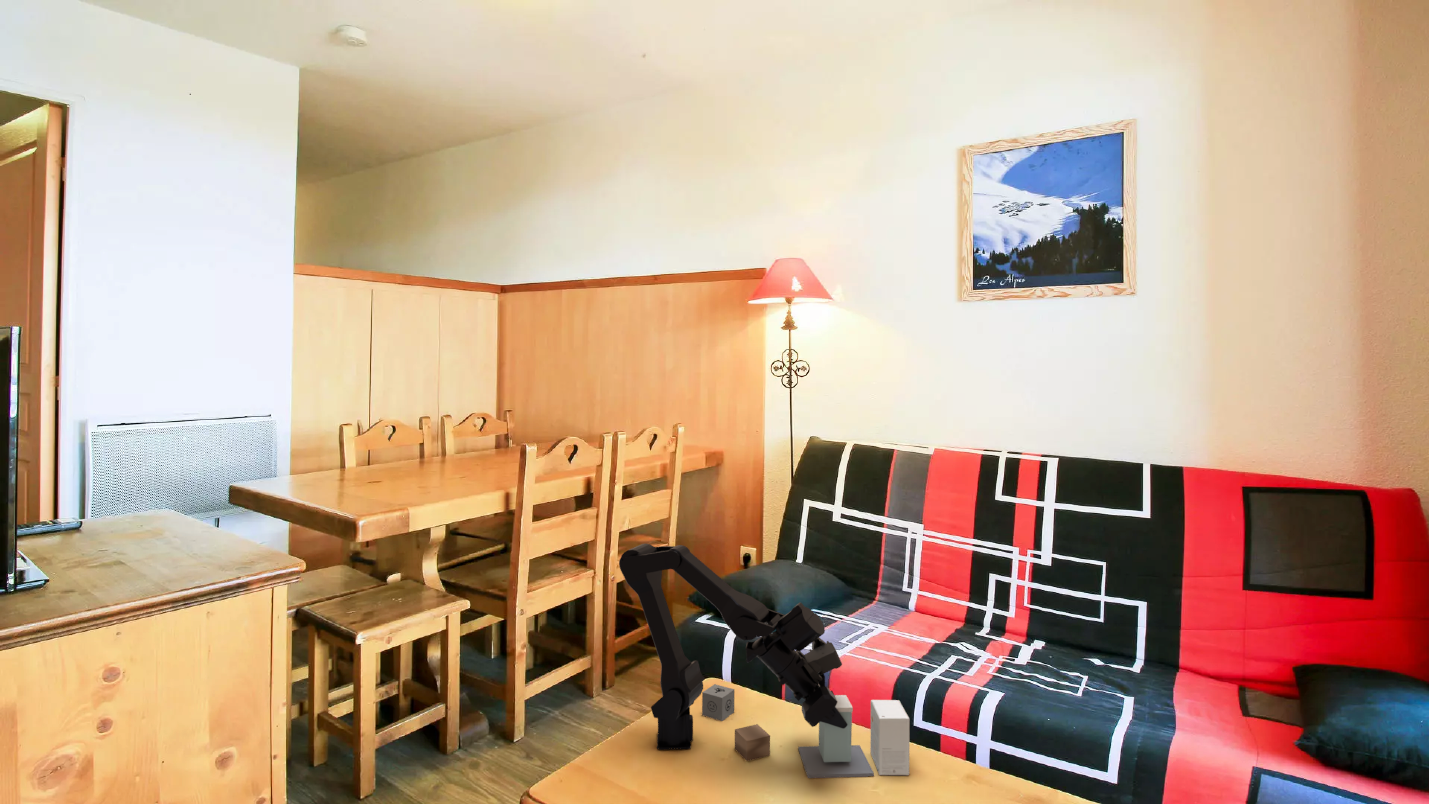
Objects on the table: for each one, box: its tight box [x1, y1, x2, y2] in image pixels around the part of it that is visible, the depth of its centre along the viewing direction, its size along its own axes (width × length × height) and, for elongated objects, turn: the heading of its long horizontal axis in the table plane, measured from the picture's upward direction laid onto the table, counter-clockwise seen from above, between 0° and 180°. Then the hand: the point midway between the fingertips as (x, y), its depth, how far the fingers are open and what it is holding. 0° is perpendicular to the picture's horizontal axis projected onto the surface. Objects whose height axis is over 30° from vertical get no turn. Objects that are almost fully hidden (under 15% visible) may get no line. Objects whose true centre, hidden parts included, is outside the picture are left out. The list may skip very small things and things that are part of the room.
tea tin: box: [818, 694, 854, 762], centre depth 134 cm, size 5×5×10 cm
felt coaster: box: [797, 744, 875, 779], centre depth 134 cm, size 12×10×1 cm
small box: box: [870, 699, 911, 776], centre depth 134 cm, size 8×6×10 cm
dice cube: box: [701, 683, 735, 722], centre depth 154 cm, size 5×5×5 cm
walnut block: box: [734, 723, 771, 762], centre depth 138 cm, size 5×5×4 cm
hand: (842, 719), depth 134 cm, fingers closed on tea tin, 5 cm apart
